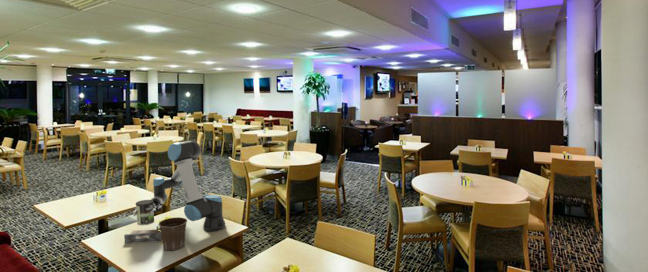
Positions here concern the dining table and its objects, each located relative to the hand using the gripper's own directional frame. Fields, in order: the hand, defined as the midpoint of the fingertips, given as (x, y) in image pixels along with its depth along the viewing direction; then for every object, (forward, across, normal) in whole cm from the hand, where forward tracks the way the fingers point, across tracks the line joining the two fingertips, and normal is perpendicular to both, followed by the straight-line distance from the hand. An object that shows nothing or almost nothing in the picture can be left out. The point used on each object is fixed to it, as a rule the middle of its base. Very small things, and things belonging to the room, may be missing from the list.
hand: (142, 213), depth 224 cm
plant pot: (+12, -22, -18) cm, 31 cm away
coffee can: (-4, 0, -8) cm, 9 cm away
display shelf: (-4, 0, -18) cm, 18 cm away
